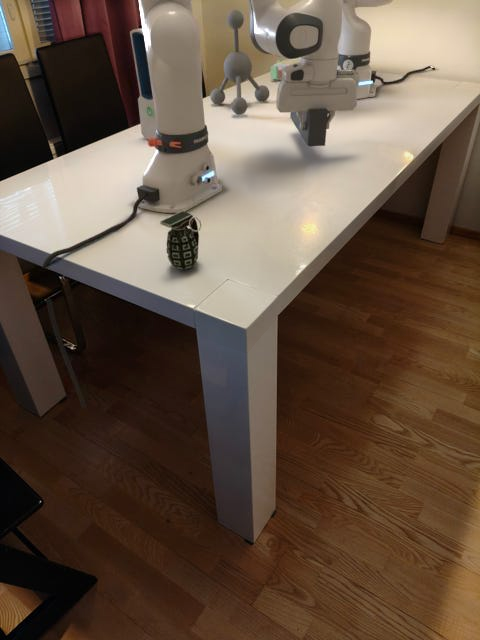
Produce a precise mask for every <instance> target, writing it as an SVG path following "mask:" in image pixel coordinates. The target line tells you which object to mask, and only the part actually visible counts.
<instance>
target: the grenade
mask: <svg viewBox="0 0 480 640" xmlns="http://www.w3.org/2000/svg"><path fill="white" fill-rule="evenodd" d="M198 222H199V226H198ZM159 224H160V225H162V226H164V227H166V228H169V230H168V231H167V236H166V254H167V259H168V261H169V263H170V265H171V266H172V267H174V268H176V269H178V270H181V271H186V270H189V269H192V267H194V266H195V265H196V264H197V262H198V261H197V260H198V259H199V243H200V241H199V240H200V233H199V232H200V231H201V228H202V221H201V220H200V219H199V218H198V217H197V216H194V215H193V214H192V213H189V212H187V211H185V212H184V211H181V212H179V213H174V214H172V215H170V216H169V217H166V218H165V219H162V220H160V222H159ZM198 227H199V228H198Z"/></svg>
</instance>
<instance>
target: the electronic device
mask: <svg viewBox="0 0 480 640" xmlns="http://www.w3.org/2000/svg"><path fill="white" fill-rule="evenodd" d="M129 34H130V42H131V47H132V54H133V60H134V61H133V62H134V65H135V72H136V79H137V86H138V90H139V97H138V98H137V103H138V113H139V123H140V129H141V130H140V131H141V135H142V136H143V138H144V139H146V140H148V139H149V138H150V137H152V138H156V130H157V129H158V128H157V121H156V114H155V108H154V101H153V94H152V86H151V79H150V71H149V64H148V57H147V50H146V43H145V38H144V35H143V30H142V27H141V28H134V29H132V30H130V31H129Z"/></svg>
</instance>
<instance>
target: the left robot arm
mask: <svg viewBox="0 0 480 640" xmlns="http://www.w3.org/2000/svg"><path fill="white" fill-rule="evenodd" d="M248 2H249V8H250V18H249V19H250V21H249V36H250V40H251V42H252V43H251V44H253V47H254V48H255V49H256V50H257V51H258V52H260V53H261V54H265V55H272V56H275V57H278V58H283V59H285V60H287V59H295V58H299V57H301V61H300V62H297V63H294V64H292V65H289V66H286V67H284V68H283V69H282V76H283V79H282V80H280V81H279V83H278V85H277V91H276V97H275V98H276V99H275V101H276V102H275V107H276V109H277V111H278V112H279V113H291V112H296V115H297V117H298V119H299V121H300V129H301V130H306V126H307V123H306V121H303V120H302V118H301V116H303V112H308V110H309V109H327V110H328V118H327V129H326V130H329V129H330V123H331V122H332V120H333V118H334V117H335V115H336V112H344V111H354V110H355V108H356V107H357V104H358V103H357V102H358V99H357V87H358V85H359V79H360V76H359V74H358V72H356V71H355V70H353V69H350V70H337V67H338V57H339V54H338V42H339V39H340V36H341V26H342V3H341V0H300V1H298V2H297V3H296V4H294V5H292V6H290V7H288V8H284V7H283V6H282V5H281V4H280V2H279V1H278V0H248ZM138 5H139V12H140V13H139V14H140V21H141V28H142V30H143V35H144V38H145V43H146V50H147V57H148V64H149V71H150V79H151V86H152V94H153V101H154V108H155V114H156V121H157V128H158V129H157V130H156V138H152V137H150V138H149V139H147V146H149V147H151V148H152V147H154V148H155V151H154V153H153V155H152V157H151V159H150V162H149V163H148V165H147V167H146V169H145V172H144V173H143V176H142V185H140V186H138V187H136V192H137V193H136V194H137V197H135V199H134V204H133V206H132V212H131V214H130V215H129V216H128V218H127V219H126V220H124V221H122V222H119V223H117V224H115V225H113V226H111V227H109V228H107V229H105V230H103V231H102V232H100V233H97V234H95V235H94V236H90V237H89V238H86V239H84V240H82V241H80V242H78V243H76V244H73V245H72V246H69V247H66V248H62V249H58V250H56V251H53V252H52V253H50V254H49V255H48V256H47V257H46V258H45V260H44V262H43V264H42V265H41V266H42V267H41V268H42V269H46V268H48V267H49V265H50V263H51V261H53V260H54V259H55V258H57V257H58V256H61V255H65V254H69V253H72V252H75V251H76V250H78V249H80V248H83V247H84V246H87V245H89V244H91V243H93V242H95V241H98V240H99V239H101V238H103V237H105V236H107V235H109V234H111V233H112V232H115V231H117V230H119V229H121V228H123V227H125V226H126V225H127V224H128V223H130V222H131V221H132V220H134V218H135V217H136V216H137V214H138V208H140V209H142V210H143V209H144V210H147V211H151V212H157V213H164V214H177V213H179V212H181V211H184V212H187V211H189V210H190V209H193V208H194V207H196V206H198V205H199V204H201V203H203V202H205V201H207V200H208V199H210V198H212V197H214V196H215V195H217V194H219V193H220V192H222V191H223V185H222V184H220V183H219V180H218V174H217V168H216V163H215V156H214V155H213V153H212V152H211V149H210V147H209V145H208V143H209V130H208V126H207V124H206V120H205V108H204V98H203V97H204V96H203V67H202V61H203V60H202V42H201V30H200V25H199V24H198V21H197V19H196V17H195V15H194V14H193V0H138ZM354 73H356V74H354ZM45 301H46V306H47V310H48V316H49V319H50V323H51V326H52V330H53V333H54V335H55V340H56V342H57V344H58V347H59V348H58V349H59V351H60V352H61V355H62V358H63V360H64V363H65V366H66V368H67V371H68V373H69V376H70V378H71V380H72V383H73V385H74V388H75V391H76V394H77V397H78V399H79V403H80V405H81V408H82V409H86V408H87V404H86V401H85V399H84V395H83V393H82V390H81V387H80V384H79V381H78V379H77V377H76V373H75V372H74V369H73V366H72V363H71V361H70V359H69V356H68V353H67V351H66V347H65V345H64V342H63V339H62V337H61V334H60V330H59V327H58V324H57V320H56V315H55V312H54V307H53V302H52V299H51V298H48V297H45Z"/></svg>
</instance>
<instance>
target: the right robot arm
mask: <svg viewBox="0 0 480 640" xmlns="http://www.w3.org/2000/svg"><path fill="white" fill-rule="evenodd" d="M393 1H394V0H341V3H342V26H341V36H340V39H339V42H338V54H339V57H338V67H337V70H350V69H353V70H355V71H356V72H358V74H359V76H360V79H359V85H358V87H357V100H360V99H366V98H374V97H376V94H377V84H375V82H376V80H378V81H379V82H380V84H382V85H392V84H397V83H400V82H403V81H404V80H405V79H406V78H407V77H408V76H409V75H412V74H415V73H416V74H417V73H420V72H421V73H422V72H423V71H427V70H429V69H431V70H432V71H435V70H436V68H435V66H433V67H434V68H431V67H430V66H431V65H427V66H425V67H423V68H420V69H415V70H411V71H408V72H406V74H405V75H403V76H402V77H401V78H399V79H396V80H395V79H394V80H391V81H384V79H383V77H380V76H378V75H377V70H372V68H371V65H370V64H371V51H370V47H371V39H372V38H371V37H372V28H371V25H370V24H369V23H368V22H367V21H366V20H364V19H362V18H361V17H360V16H358V15H357V13H356V8H377V7H382V6H386V5H390V4H391V3H392V2H393ZM354 74H356V73H354Z"/></svg>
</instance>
